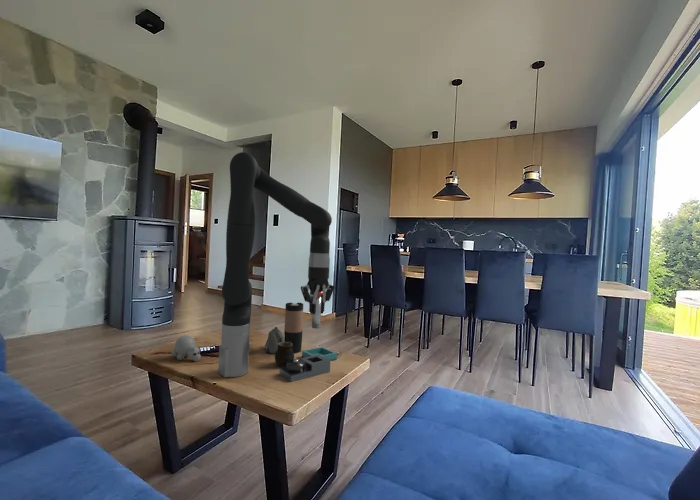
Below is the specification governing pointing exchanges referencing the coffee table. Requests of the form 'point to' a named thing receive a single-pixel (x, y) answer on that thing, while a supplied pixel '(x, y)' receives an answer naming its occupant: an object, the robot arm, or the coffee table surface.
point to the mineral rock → (274, 340)
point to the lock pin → (317, 311)
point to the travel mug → (294, 325)
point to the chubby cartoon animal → (186, 348)
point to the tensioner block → (305, 368)
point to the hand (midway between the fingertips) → (316, 313)
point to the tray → (320, 353)
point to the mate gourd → (284, 353)
